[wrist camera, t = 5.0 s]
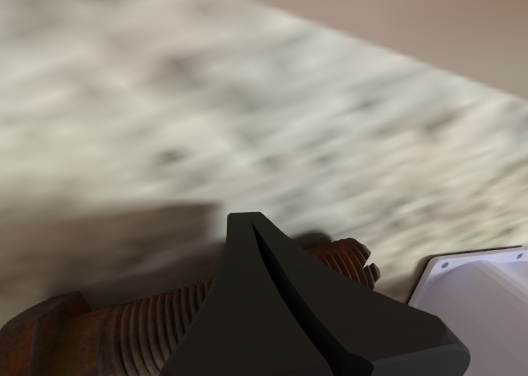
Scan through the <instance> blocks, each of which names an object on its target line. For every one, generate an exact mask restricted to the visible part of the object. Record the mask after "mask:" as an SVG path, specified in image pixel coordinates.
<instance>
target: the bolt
mask: <svg viewBox="0 0 528 376" xmlns="http://www.w3.org/2000/svg"><path fill="white" fill-rule="evenodd" d="M305 251H306V252H308V253H309V254H310V255H312V256H313V257H315V258H316V259H318V260H319V261H321V262H322V263H324V264H326V265H327V266H329V267H330V268H332V269H333V270H335V271H337V272H339V273H340V274H342V275H344V276H346V277H348V278H349V279H351V280H353V281H355V282H357V283H359V284H361V285H363V286H365V287H367V288H369V289H371V290H373V289H374V284H375V283H376V282H377V281H378V279H379V278H380V277H381V276H380V271H379V269H378V267H377V266H376V265H375V264H374V263H372V264H371V265H370V266H368V265H367V266H366V267H364V265H365V263H366V261H367V260H368V258H369V257H370V254H371V252H370V251H369V250H368V249H367V248H366V246H365V245H363V244H361V243H359V242H358V241H357V240H355V239H353V238H347V239H340V240H338V241H334V242H333V243H331V242H329V243H328V244H324V245H322V246H317V247H316V248H311V249H310V250H305ZM363 267H364V268H363ZM214 278H215V277H213V279H212V282H210V281H209V280H205V283H204V284H203V283H202V282H198V285H197V286H195V285H194V284H191V286H190V289H189V288H188V287H186V286H184V287H183V289H182V290H181V289H179V288H176V290H175V292H173V291H172V290H169V291H168V293H167V294H166V293H161V294H160V295H159V296H158V295H153V296H152V298H149V297H146V298H145V299H144V300H141V299H140V300H138V301H136V302H130V303H129V304H124V305H120V306H118V305H113V306H110V307H106V308H103V309H99V310H96V311H92V310H91V308H90V307H89V306H88V304H87V303H86V301H85V300H84V298H83V297H82V295H81V294H80V293H79V291H75V292H72V293H68V294H65V295H61V296H57V297H54V298H50V299H48V300H46V301H43V302H41V303H39V304H37V305H35V306H33V307H31V308H29V309H27V310H25V311H24V312H22V313H20V314H19V315H17V316H16V317H14V318H12V319H11V320H9V321H8V322H7V323H6V324H5V325H4V326H3V327H2V328H1V330H0V376H159V374H160V372H161V369H162V367H163V365H164V363H165V362H166V361H167V359H168V358H169V356H170V355H171V353H172V352H173V350H174V349H175V347H176V346H177V344H178V343H179V341H180V340H181V339H182V337H183V336H184V334H185V332H186V331H187V329H188V328H189V326H190V324H191V322H192V321H193V319H194V317H195V316H196V314H197V312H198V310H199V309H200V307H201V305H202V303H203V301H204V299H205V297H206V296H207V293H208V291H209V289H210V287H211V285H212V283H213V281H214Z"/></svg>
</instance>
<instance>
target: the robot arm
mask: <svg viewBox="0 0 528 376" xmlns="http://www.w3.org/2000/svg"><path fill="white" fill-rule="evenodd" d="M159 376H528V247H519V248H510V249H501V250H492V251H483V252H474V253H466V254H457V255H448V256H439V257H434V258H433V259H431V260H430V261H429V263H428V265H427V267H426V269H425V271H424V273H423V275H422V277H421V279H420V281H419V283H418V285H417V287H416V289H415V291H414V293H413V295H412V297H411V299H410V301H409V303H408V305H406V304H403V303H401V302H398V301H396V300H393V299H391V298H389V297H387V296H384V295H382V294H380V293H378V292H375V291H373V290H371V289H369V288H367V287H365V286H363V285H361V284H359V283H357V282H355V281H353V280H351V279H349V278H348V277H346V276H344V275H342V274H340V273H339V272H337V271H335V270H333V269H332V268H330V267H329V266H327V265H326V264H324V263H322V262H321V261H319V260H318V259H316V258H315V257H313V256H312V255H310V254H309V253H308V252H306V251H305V250H304V249H302V248H301V247H300V246H299V245H297V244H296V243H295V242H294V241H292V240H291V239H290V238H289V237H288V236H286V235H285V234H284V233H283V232H282V231H281V230H280V229H278V228H277V227H276V226H275V225H274V224H273V223H272V222H271V221H270V220H269V219H268V218H266V217H265V216H264V215H263V214H262V213H261V212H244V213H230V214H229V215H228V216H227V237H226V246H225V250H224V253H223V257H222V260H221V263H220V266H219V268H218V271H217V273H216V276H215V278H214V281H213V283H212V285H211V287H210V289H209V291H208V293H207V296H206V297H205V299H204V301H203V303H202V305H201V307H200V309H199V310H198V312H197V314H196V316H195V317H194V319H193V321H192V322H191V324H190V326H189V328H188V329H187V331H186V332H185V334H184V336H183V337H182V339H181V340H180V341H179V343H178V344H177V346H176V347H175V349H174V350H173V352H172V353H171V355H170V356H169V358H168V359H167V361H166V362H165V363H164V365H163V367H162V369H161V372H160V374H159Z"/></svg>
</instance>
